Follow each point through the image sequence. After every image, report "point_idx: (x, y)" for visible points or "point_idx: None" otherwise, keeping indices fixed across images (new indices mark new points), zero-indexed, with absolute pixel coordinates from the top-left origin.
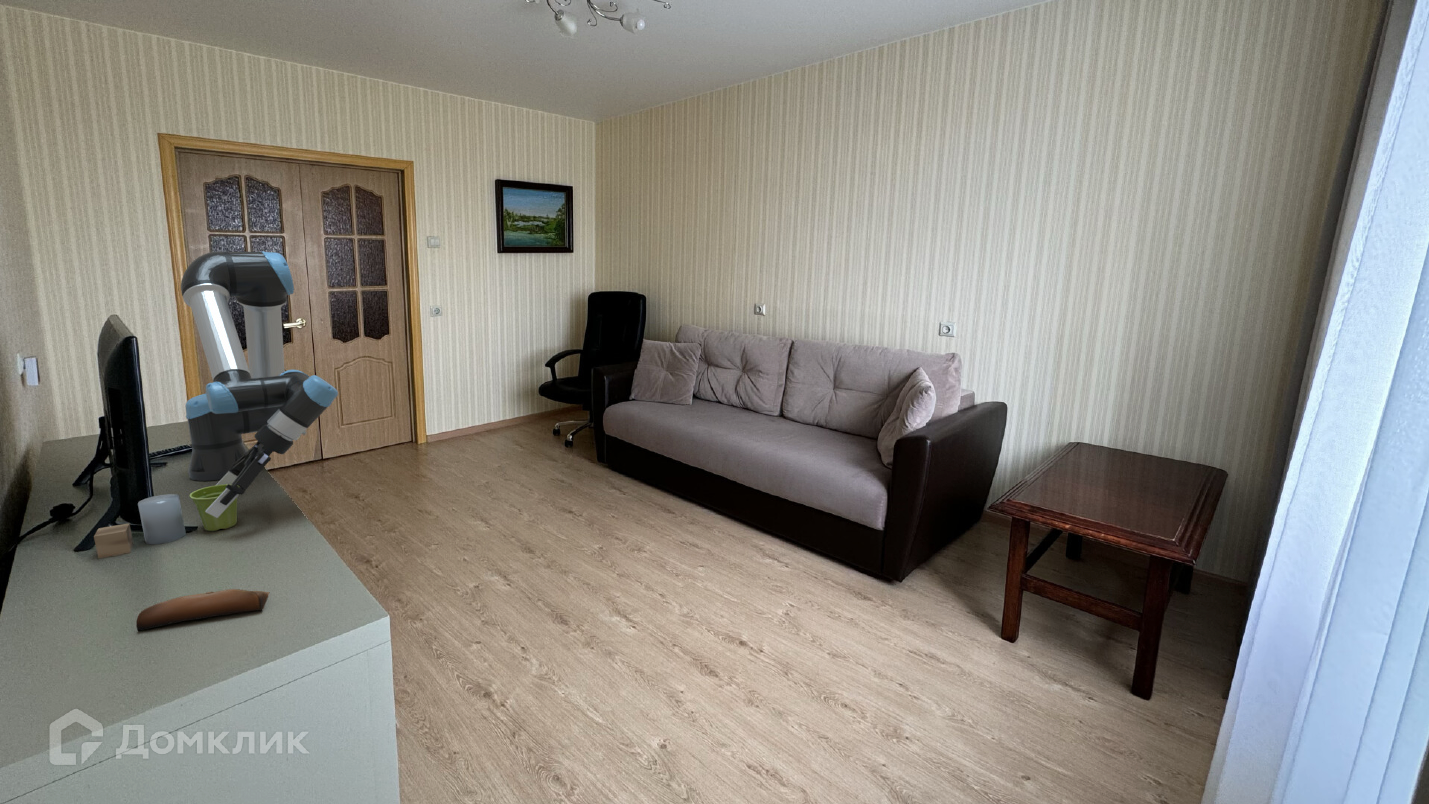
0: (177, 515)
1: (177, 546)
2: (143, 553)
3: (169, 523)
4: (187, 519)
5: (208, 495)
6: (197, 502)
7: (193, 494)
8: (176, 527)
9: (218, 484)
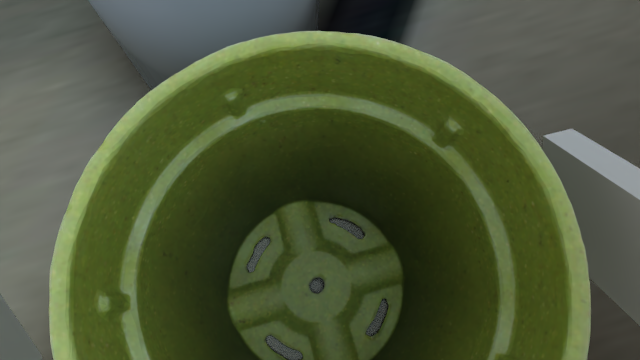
0: (146, 49)
1: (50, 145)
2: (26, 17)
3: (112, 34)
4: (499, 61)
5: (455, 163)
6: (164, 148)
7: (330, 56)
8: (154, 80)
9: (635, 209)
